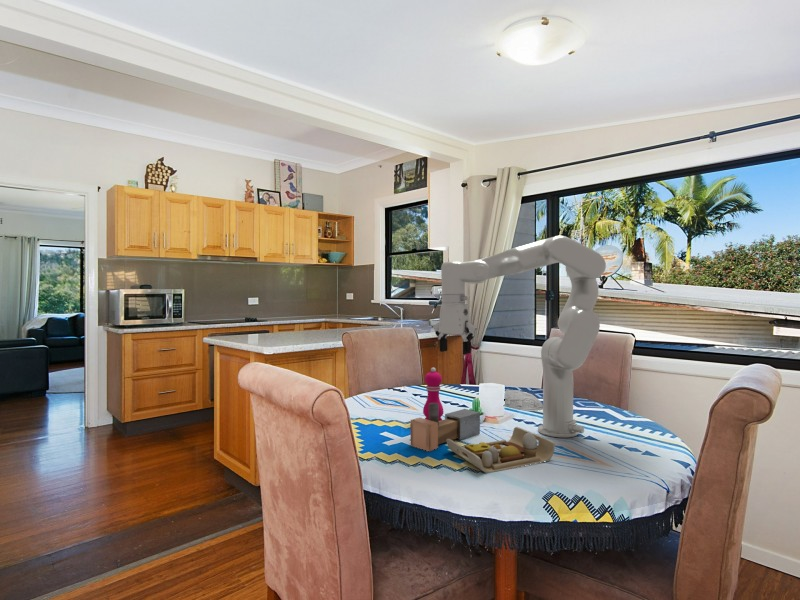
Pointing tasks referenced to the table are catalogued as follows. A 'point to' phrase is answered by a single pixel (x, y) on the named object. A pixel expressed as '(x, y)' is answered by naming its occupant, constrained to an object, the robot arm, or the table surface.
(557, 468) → the table surface
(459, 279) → the robot arm
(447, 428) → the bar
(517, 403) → the grey carved stone
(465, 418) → the sleeve
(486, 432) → the table surface
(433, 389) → the pepper mill
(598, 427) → the table surface
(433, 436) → the brown block
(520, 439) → the toy food set
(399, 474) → the table surface
